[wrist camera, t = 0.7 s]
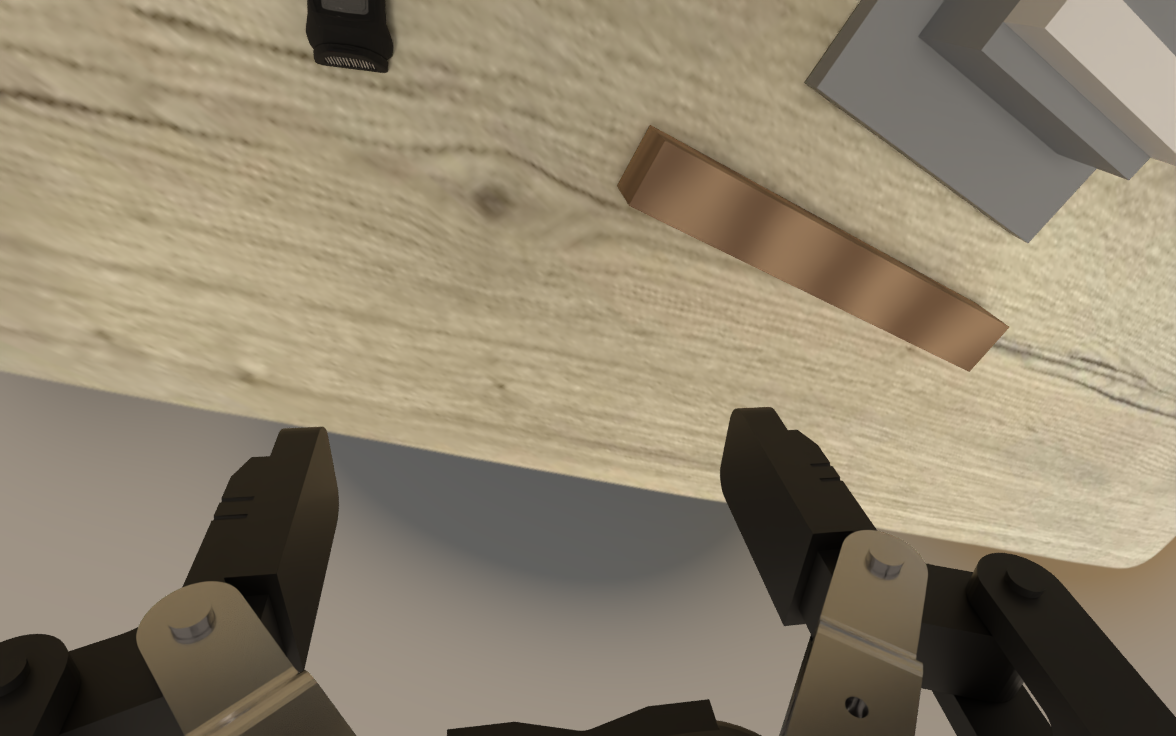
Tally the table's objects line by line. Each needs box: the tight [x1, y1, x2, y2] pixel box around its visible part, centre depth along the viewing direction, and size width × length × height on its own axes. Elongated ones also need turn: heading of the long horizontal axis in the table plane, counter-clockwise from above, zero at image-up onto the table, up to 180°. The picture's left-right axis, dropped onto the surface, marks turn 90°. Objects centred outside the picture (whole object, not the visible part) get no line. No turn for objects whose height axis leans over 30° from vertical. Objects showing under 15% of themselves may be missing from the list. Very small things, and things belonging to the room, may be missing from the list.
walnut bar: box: [617, 125, 1009, 372], centre depth 40 cm, size 26×4×4 cm, turn 62°
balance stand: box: [805, 0, 1176, 243], centre depth 33 cm, size 14×18×9 cm
